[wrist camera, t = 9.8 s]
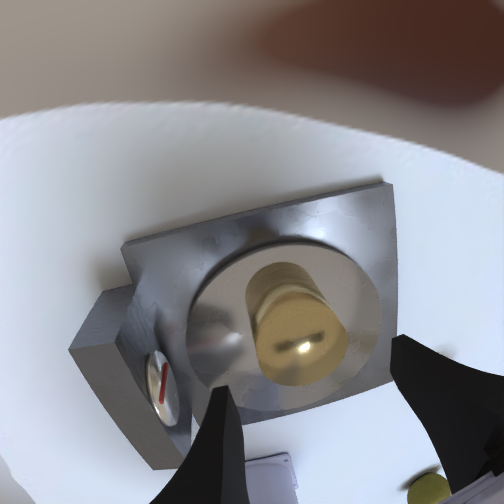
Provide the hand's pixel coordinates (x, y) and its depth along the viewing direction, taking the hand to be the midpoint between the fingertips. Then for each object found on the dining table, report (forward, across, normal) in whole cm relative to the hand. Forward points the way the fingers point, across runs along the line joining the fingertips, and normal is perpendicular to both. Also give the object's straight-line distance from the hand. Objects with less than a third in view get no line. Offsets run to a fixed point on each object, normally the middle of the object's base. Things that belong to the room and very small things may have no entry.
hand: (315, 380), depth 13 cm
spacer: (+8, 0, 0) cm, 8 cm away
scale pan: (+9, 0, +4) cm, 10 cm away
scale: (+10, +1, +4) cm, 11 cm away
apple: (+11, -19, +47) cm, 52 cm away
